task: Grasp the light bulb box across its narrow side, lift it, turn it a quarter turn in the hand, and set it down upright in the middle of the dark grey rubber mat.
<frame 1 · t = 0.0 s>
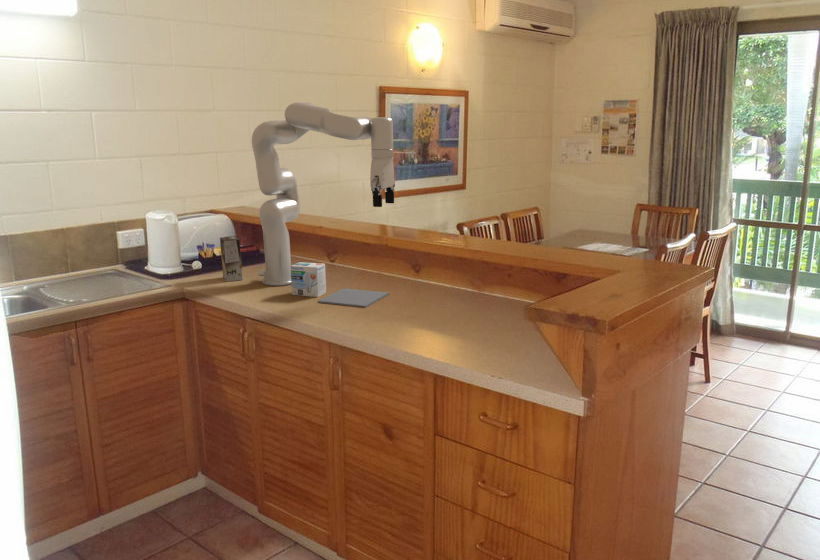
hand: (383, 204, 236), 31 cm above the counter, fingers open, 9 cm apart
light bulb box: (309, 294, 243), on the counter
mat: (354, 298, 236), on the counter
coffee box: (232, 279, 268), on the counter
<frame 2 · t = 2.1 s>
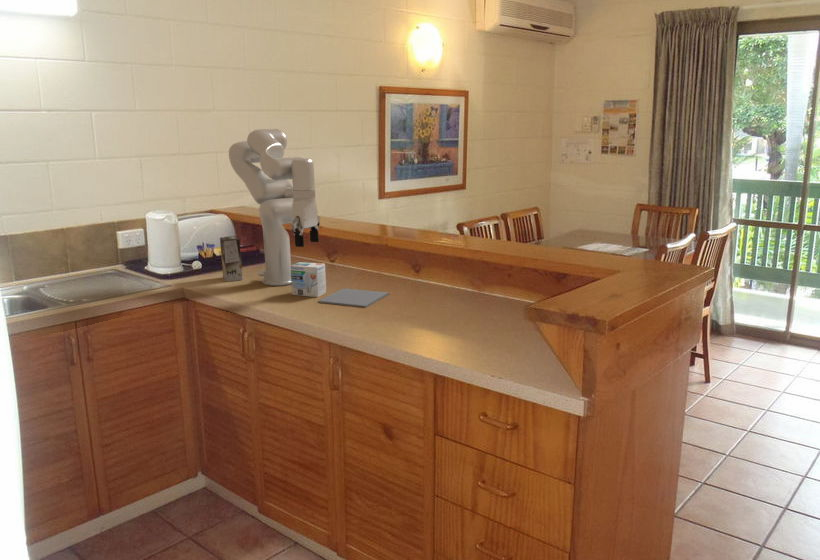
hand: (307, 244, 239), 18 cm above the counter, fingers open, 9 cm apart
nothing on the counter moved.
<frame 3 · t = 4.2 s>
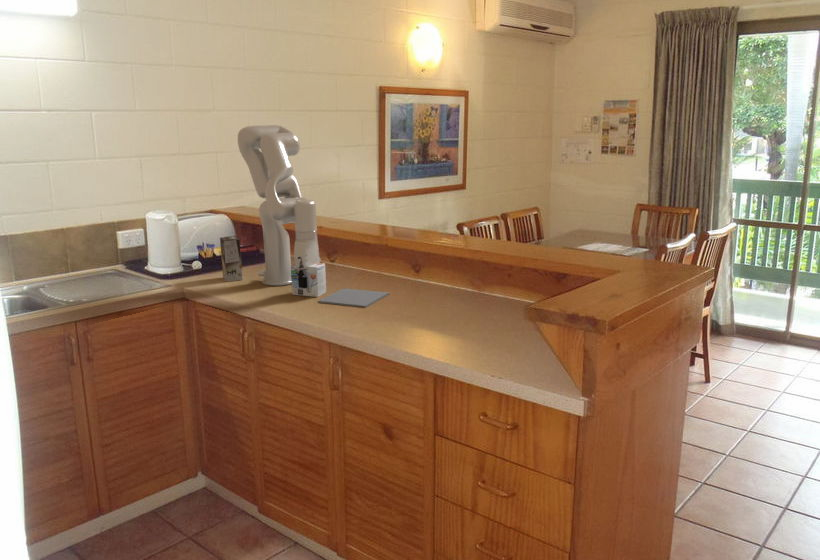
hand: (308, 284, 242), 3 cm above the counter, fingers closed on light bulb box, 7 cm apart
light bulb box: (309, 294, 243), on the counter, touching gripper
everything else where it was.
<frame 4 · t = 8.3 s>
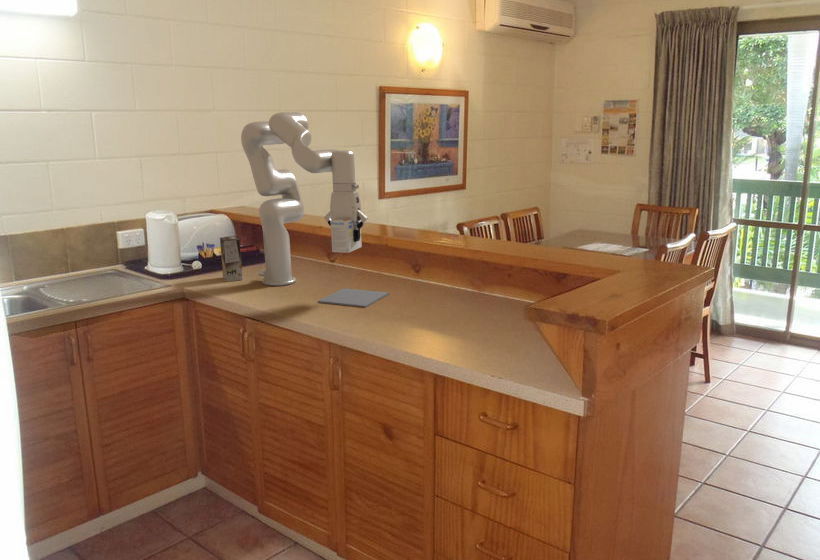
hand: (346, 240, 232), 20 cm above the counter, fingers closed on light bulb box, 7 cm apart
light bulb box: (347, 250, 233), point 17 cm above the counter, touching gripper
everything else where it was.
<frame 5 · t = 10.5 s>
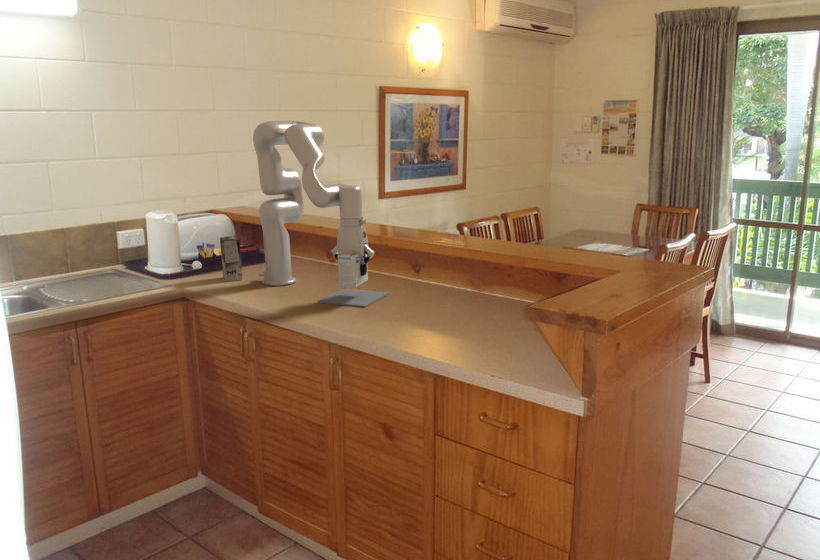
hand: (353, 273, 234), 9 cm above the counter, fingers closed on light bulb box, 7 cm apart
light bulb box: (353, 283, 235), point 5 cm above the counter, touching gripper
everything else where it was.
when the fingers open (5 cm above the counter, at t = 12.2 s): light bulb box drops 1 cm, resting on mat.
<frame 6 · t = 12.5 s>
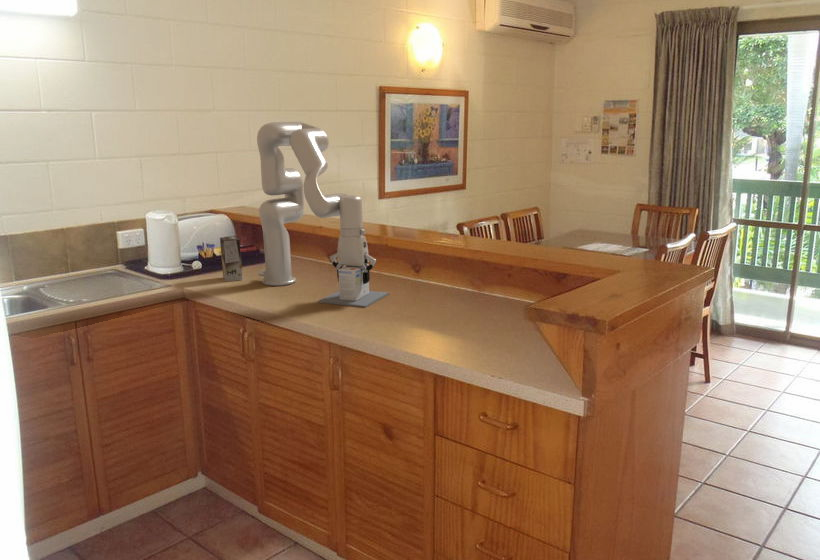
hand: (353, 281, 235), 6 cm above the counter, fingers open, 9 cm apart
light bulb box: (354, 297, 236), resting on mat
everything else where it was.
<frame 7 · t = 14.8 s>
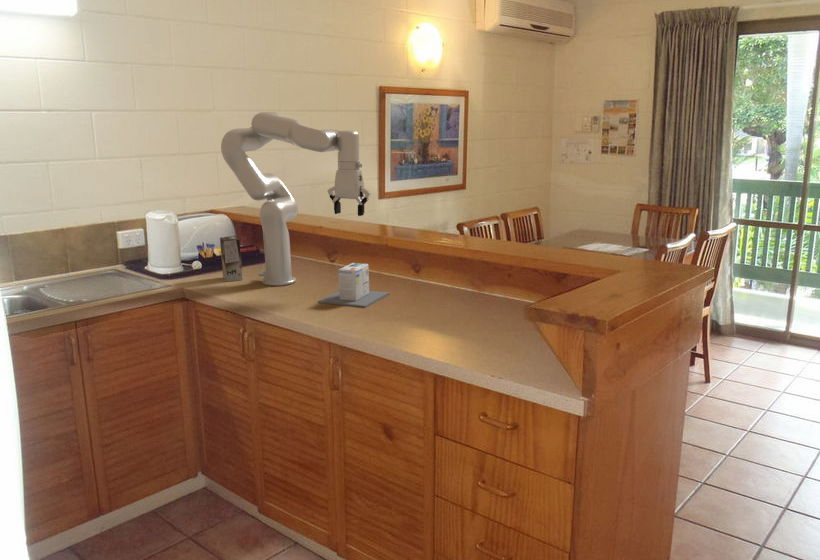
hand: (349, 214, 246), 27 cm above the counter, fingers open, 9 cm apart
nothing on the counter moved.
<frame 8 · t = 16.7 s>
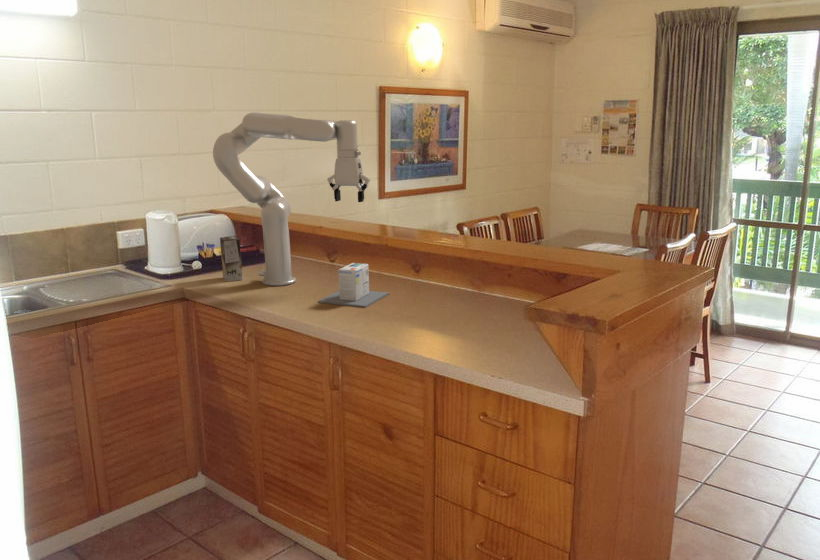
hand: (349, 201, 255), 30 cm above the counter, fingers open, 9 cm apart
nothing on the counter moved.
at the end: light bulb box inside the target area on the mat (0.2 cm from its centre), point 0.4 cm above the mat's base; light bulb box tilted 0°; the gripper is holding nothing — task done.
